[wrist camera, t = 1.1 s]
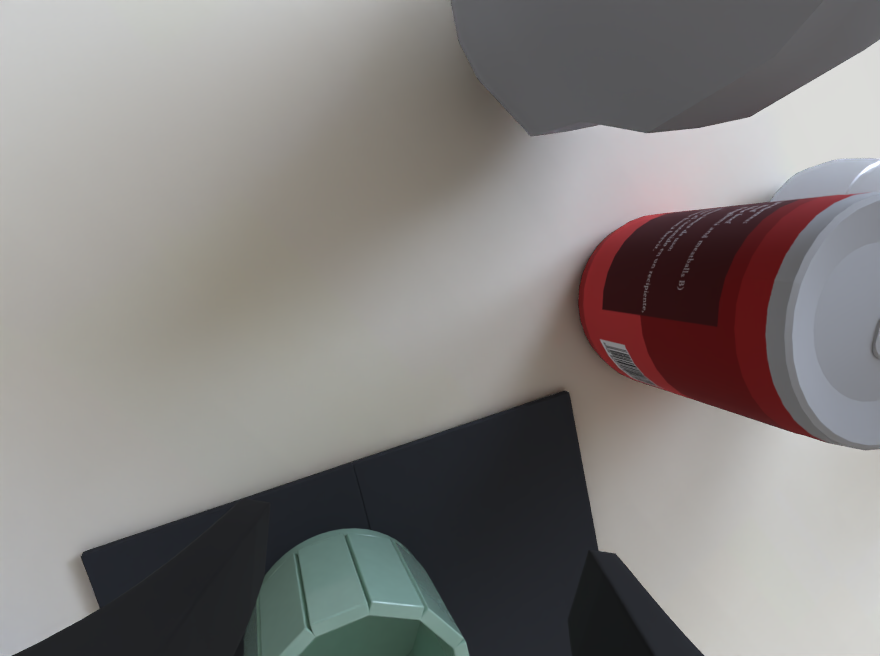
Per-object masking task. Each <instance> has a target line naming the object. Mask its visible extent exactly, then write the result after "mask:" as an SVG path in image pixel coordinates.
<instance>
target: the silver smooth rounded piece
mask: <svg viewBox="0 0 880 656" xmlns="http://www.w3.org/2000/svg"><path fill="white" fill-rule="evenodd" d="M867 192H879V193H880V159H874V158H851V159H837V160H831V161H828V162H825V163H822V164H819V165H816V166H813V167H810V168H807V169H805V170H803V171H801V172H798V173H796V174H795V175H794V176H792V177H791V178H790V179H789V180H788V181H787V182H786V183H785V184H784V185H783V186H782V187H781V188H780V189H779V190H778V191H777V192H776V194H775V195H774V196H773V197H772V199H771V201H770V202H775V201H785V200H794V199H803V198H813V197H822V196H831V195H848V194H858V193H867Z"/></svg>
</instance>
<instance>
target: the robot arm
mask: <svg viewBox="0 0 880 656" xmlns="http://www.w3.org/2000/svg"><path fill="white" fill-rule="evenodd" d="M270 505H271V502H265V501H258V500H251V499H244V498H243V499H242V500H240V501H239V502H237V503H236V504H235V505H234V506H233V507H232V508H231V509H230V510H228V511H227V512H226V513H225V514H224V515H223V516H222V517H221V518H220V519H218V520H217V521H216V522H215V523H214V524H213V525H212V526H210V527H209V528H208V529H207V530H206V531H205V532H204V533H202V534H201V535H200V536H199V537H198V538H196V539H195V540H194V541H193V542H192V543H190V544H189V545H188V546H187V547H185V548H184V549H183V550H182V551H181V552H179V553H178V554H177V555H176V556H174V557H173V558H172V559H171V560H169V561H168V562H167V563H165V564H164V565H163V566H161V567H160V568H159V569H157V570H156V571H154V572H153V573H152V574H150V575H149V576H148V577H146V578H145V579H144V580H142V581H141V582H140V583H138V584H137V585H135V586H134V587H132V588H131V589H129V590H128V591H127V592H125V593H124V594H122V595H121V596H119V597H118V598H116V599H114V600H113V601H111V602H110V603H108V604H107V605H105V606H103V607H102V608H100V609H99V610H97V611H95V612H94V613H92V614H90V615H89V616H87V617H85V618H83V619H82V620H80V621H78V622H76V623H74V624H73V625H71V626H69V627H67V628H65V629H63V630H61V631H60V632H58V633H56V634H54V635H52V636H50V637H49V638H47V639H45V640H43V641H41V642H39V643H37V644H35V645H33V646H31V647H29V648H27V649H25V650H23V651H21V652H19V653H17V654H15V655H12V656H234V654H235V651H236V649H237V647H238V645H239V643H240V641H241V639H242V636H243V634H244V632H245V630H246V628H247V625H248V623H249V621H250V618H251V615H252V612H253V609H254V607H255V604H256V601H257V598H258V595H259V592H260V589H261V586H262V583H263V580H264V576H265V565H266V553H267V541H268V529H269V517H270ZM568 628H569V637H570V645H571V653H572V656H704V655H703V654H702V653H701V652H700V651H699V650H698V649H697V648H696V646H695V645H694V644H693V643H692V642H691V641H690V640H689V639H688V638H687V637H686V636H685V635H684V633H683V632H682V631H681V630H680V629H679V628H678V627H677V626H676V624H675V623H674V622H673V621H672V620H671V619H670V618H669V616H668V615H667V614H666V613H665V612H664V611H663V610H662V608H661V607H660V606H659V605H658V604H657V602H656V601H655V600H654V599H653V598H652V597H651V595H650V594H649V593H648V592H647V591H646V589H645V588H644V587H643V586H642V585H641V583H640V582H639V581H638V580H637V578H636V577H635V576H634V575H633V574H632V572H631V571H630V570H629V569H628V568H627V566H626V565H625V564H624V563H623V562H622V561H621V559H620V558H619V557H618V556H617V555H616V554H615V553H608V552H601V551H594V550H589V551H588V554H587V558H586V561H585V564H584V567H583V571H582V574H581V577H580V581H579V584H578V587H577V591H576V594H575V597H574V601H573V604H572V607H571V610H570V614H569V617H568Z"/></svg>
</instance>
